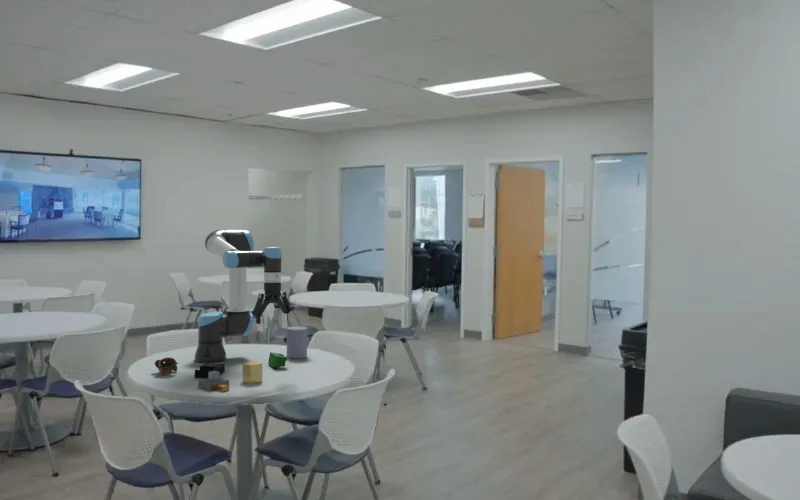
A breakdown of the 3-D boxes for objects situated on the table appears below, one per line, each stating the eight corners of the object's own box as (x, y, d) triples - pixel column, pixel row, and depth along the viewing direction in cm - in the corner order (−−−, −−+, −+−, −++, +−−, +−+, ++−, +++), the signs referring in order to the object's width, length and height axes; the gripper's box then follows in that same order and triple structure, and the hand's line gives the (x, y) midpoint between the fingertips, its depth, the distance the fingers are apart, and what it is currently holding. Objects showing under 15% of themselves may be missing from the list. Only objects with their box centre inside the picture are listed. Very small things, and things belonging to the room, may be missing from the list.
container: (310, 357, 328) (310, 328, 327) (291, 359, 322) (292, 330, 321) (301, 354, 336) (301, 326, 336) (283, 356, 330) (283, 327, 330)
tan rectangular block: (242, 381, 277) (242, 363, 276) (254, 379, 281) (254, 361, 281) (250, 383, 273) (250, 365, 272) (262, 381, 277) (262, 363, 277)
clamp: (283, 375, 304) (288, 359, 302) (271, 374, 302) (276, 358, 299) (279, 361, 315) (284, 346, 312) (267, 360, 312) (272, 344, 309)
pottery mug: (183, 372, 292) (181, 358, 287) (170, 385, 284) (168, 371, 280) (161, 364, 295) (159, 351, 291) (148, 377, 287) (145, 364, 283)
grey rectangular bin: (198, 387, 266) (198, 371, 266) (217, 383, 273) (217, 368, 272) (216, 393, 257) (216, 377, 257) (235, 389, 264) (235, 373, 263)
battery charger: (204, 372, 294) (204, 363, 294) (224, 372, 294) (224, 363, 294) (194, 378, 282) (194, 369, 281) (215, 379, 281) (215, 370, 281)
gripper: (254, 283, 271) (254, 333, 272) (299, 280, 290) (299, 327, 291) (244, 282, 276) (243, 331, 277) (288, 279, 295) (288, 325, 296)
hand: (272, 329), depth 284 cm, fingers open, 13 cm apart
